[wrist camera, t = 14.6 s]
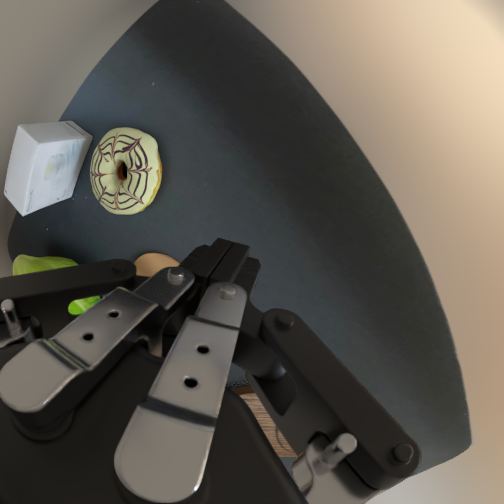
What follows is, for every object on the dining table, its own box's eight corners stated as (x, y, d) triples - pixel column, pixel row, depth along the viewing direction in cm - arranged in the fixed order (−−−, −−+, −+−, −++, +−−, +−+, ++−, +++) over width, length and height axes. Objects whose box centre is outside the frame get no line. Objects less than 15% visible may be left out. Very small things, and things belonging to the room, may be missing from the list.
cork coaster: (140, 239, 35) (138, 240, 34) (204, 274, 35) (203, 275, 34) (127, 294, 39) (126, 295, 38) (183, 326, 39) (182, 327, 38)
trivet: (226, 445, 52) (224, 451, 50) (197, 379, 43) (194, 386, 41) (335, 449, 46) (335, 456, 45) (347, 382, 38) (348, 391, 36)
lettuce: (54, 215, 37) (5, 238, 24) (135, 296, 43) (109, 344, 30) (25, 271, 39) (-16, 302, 26) (96, 340, 45) (70, 387, 32)
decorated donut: (169, 124, 28) (153, 122, 25) (169, 211, 32) (154, 220, 29) (103, 131, 30) (84, 132, 26) (106, 208, 34) (88, 215, 30)
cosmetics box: (73, 198, 35) (22, 218, 25) (51, 178, 34) (2, 193, 24) (95, 137, 30) (37, 143, 21) (71, 119, 30) (16, 123, 20)
